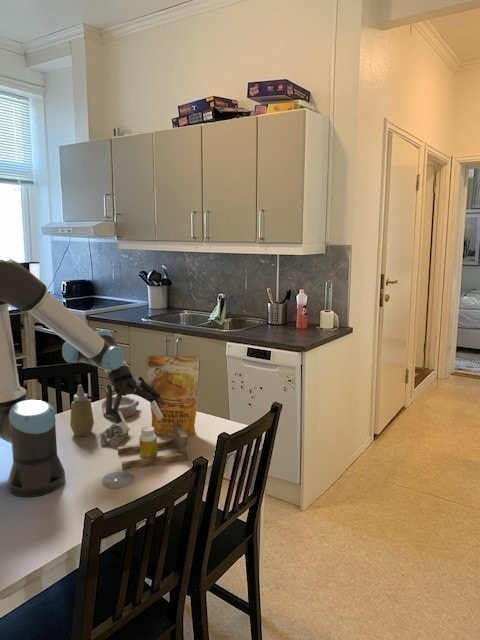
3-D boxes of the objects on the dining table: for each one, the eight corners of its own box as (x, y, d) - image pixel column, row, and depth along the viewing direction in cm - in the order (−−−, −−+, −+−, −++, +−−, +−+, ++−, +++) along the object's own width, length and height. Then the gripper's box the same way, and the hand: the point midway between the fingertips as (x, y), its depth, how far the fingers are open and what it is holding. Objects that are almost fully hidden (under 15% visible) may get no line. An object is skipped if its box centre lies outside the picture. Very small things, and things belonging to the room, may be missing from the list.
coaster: (103, 490, 138) (103, 489, 138) (100, 475, 146) (100, 474, 146) (135, 485, 141) (135, 483, 141) (131, 470, 149) (131, 469, 149)
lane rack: (122, 470, 150) (121, 445, 148) (117, 452, 161) (116, 429, 160) (188, 459, 157) (187, 436, 155) (179, 443, 168) (178, 421, 167)
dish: (118, 422, 186) (118, 410, 185) (93, 415, 193) (93, 403, 193) (145, 411, 198) (145, 399, 197) (121, 404, 205) (120, 393, 204)
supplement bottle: (151, 462, 155) (150, 433, 153) (136, 459, 157) (135, 430, 155) (160, 454, 160) (159, 426, 158) (145, 452, 162) (144, 424, 160)
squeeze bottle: (94, 427, 181) (91, 380, 178) (94, 436, 173) (92, 387, 170) (70, 430, 178) (68, 382, 175) (70, 439, 171) (67, 390, 167)
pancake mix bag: (150, 426, 182) (148, 353, 177) (201, 429, 181) (200, 355, 175) (145, 434, 176) (142, 358, 170) (197, 436, 174) (197, 360, 169)
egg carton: (116, 447, 165) (115, 436, 165) (96, 444, 168) (96, 433, 167) (132, 435, 175) (131, 424, 175) (113, 432, 178) (113, 421, 177)
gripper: (143, 368, 180) (169, 419, 173) (80, 384, 162) (106, 441, 155) (151, 357, 175) (178, 409, 168) (87, 372, 157) (115, 430, 150)
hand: (144, 424), depth 161 cm, fingers open, 13 cm apart
